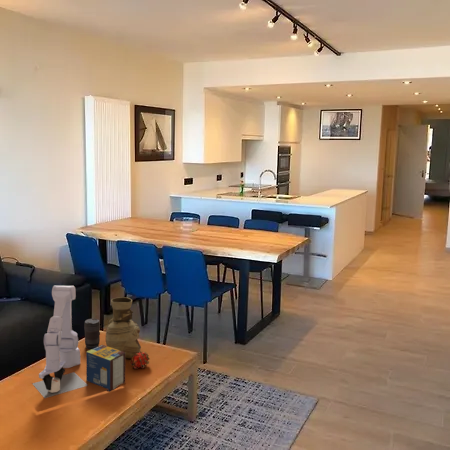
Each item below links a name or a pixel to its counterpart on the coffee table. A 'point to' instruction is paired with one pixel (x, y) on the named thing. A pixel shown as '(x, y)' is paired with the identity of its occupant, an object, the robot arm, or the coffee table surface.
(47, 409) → the coffee table surface
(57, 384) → the cap
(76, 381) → the base
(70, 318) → the robot arm
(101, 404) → the coffee table surface
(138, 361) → the dragon fruit
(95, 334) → the camera lens
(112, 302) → the ceramic vessel
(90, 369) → the protein box
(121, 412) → the coffee table surface
